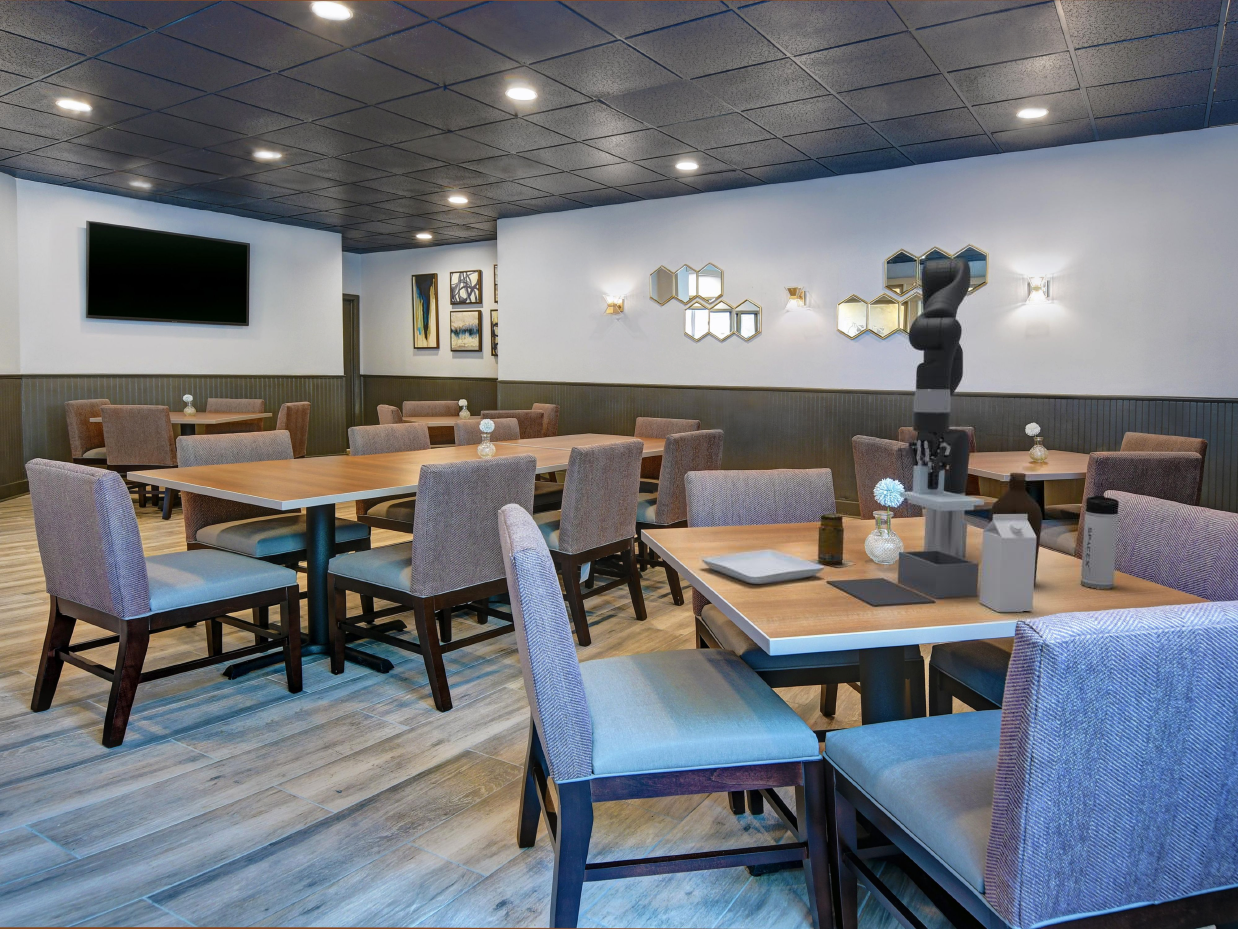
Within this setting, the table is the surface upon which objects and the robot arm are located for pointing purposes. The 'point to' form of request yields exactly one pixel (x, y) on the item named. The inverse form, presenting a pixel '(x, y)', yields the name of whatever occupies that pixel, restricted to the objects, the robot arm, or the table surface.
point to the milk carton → (1008, 564)
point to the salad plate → (763, 566)
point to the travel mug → (1099, 542)
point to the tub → (938, 574)
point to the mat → (880, 592)
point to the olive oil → (1020, 507)
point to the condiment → (831, 541)
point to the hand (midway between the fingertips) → (928, 487)
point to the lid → (936, 494)
